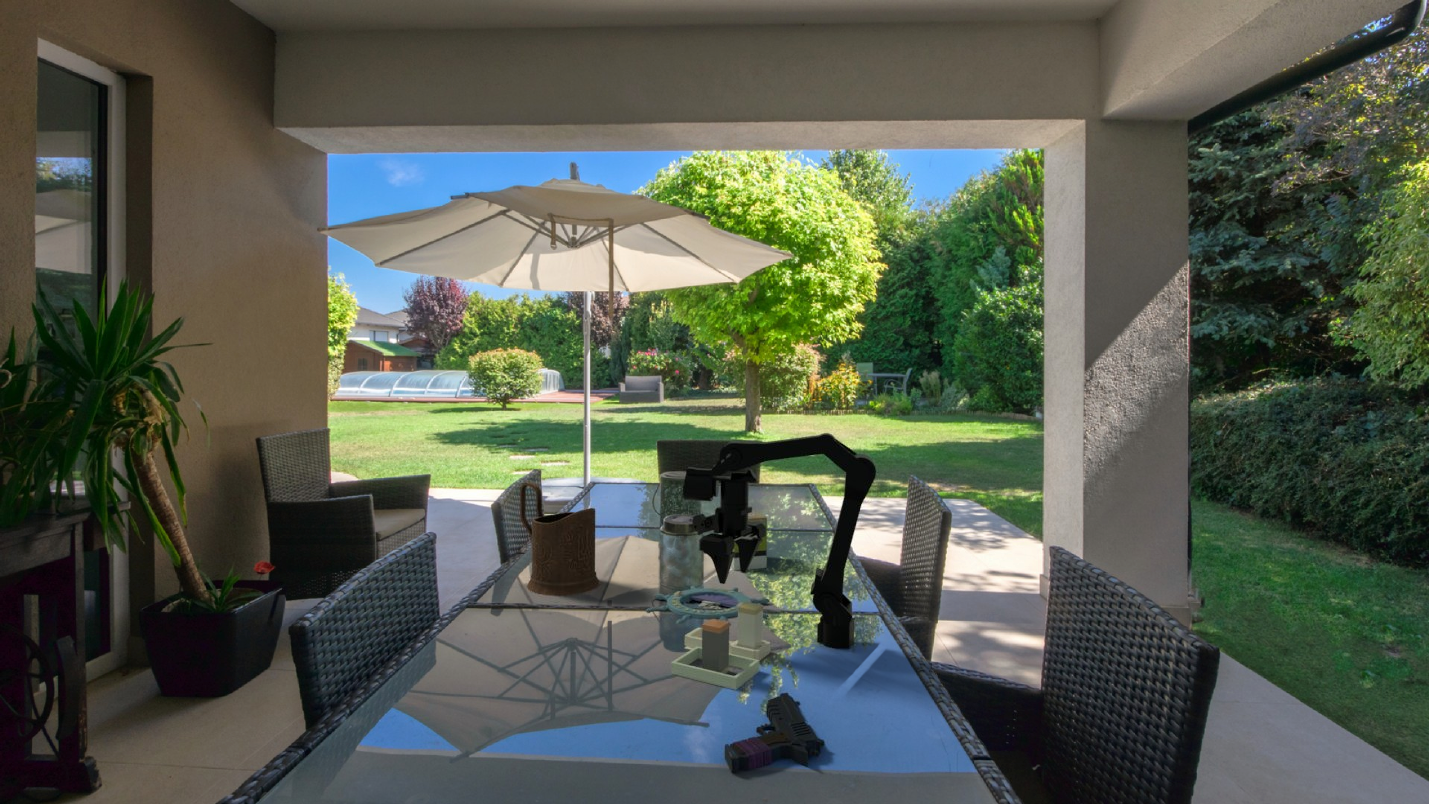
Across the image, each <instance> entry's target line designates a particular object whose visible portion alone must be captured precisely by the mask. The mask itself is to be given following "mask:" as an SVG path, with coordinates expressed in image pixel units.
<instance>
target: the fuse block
mask: <svg viewBox="0 0 1429 804" xmlns="http://www.w3.org/2000/svg"><path fill="white" fill-rule="evenodd" d="M737 644H738V639H736V640H735V641H733V640H732V641H731V640H729V654H734V655H738V656H743V657H747V658H752V659H756V660H759V662H760V661H762V660H763V659H764V658H765V657H767V656H768V655H769V654H771V645H772V644H771V642H770V641H768V640H764V639H763V645H762V646H760V647H759V648H758V649H756V650H754V649H749V648H744V647H740V646H737ZM684 646H685V647H684V649H686V650H689V651H690V650H692V649H693V648H695V647H697V646H698V647H702V627H697V628H695V629H693V630H691V631H690V632H688V633H686V634H685V635H684Z"/></svg>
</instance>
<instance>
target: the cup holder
mask: <svg viewBox="0 0 1429 804" xmlns="http://www.w3.org/2000/svg"><path fill="white" fill-rule="evenodd" d="M527 487H530V488H532V489H533V491H534V492H535V495H536V496H535V497H536V498H535V501H536V502H535V507H536V508H535V512H536V516H537V517H535V518H533V519H531V525H530V523H529V521H528V520H527V517H526V515H527V514H526V512H527V511H526V505H527V503H526V501H527V500H526V499H527V498H526V497H527V496H526V495H527V493H526V491H527ZM542 499H543V495H542V490H541V488H540V487H539V485H537V484H536V483H534V482H526V483H523V484H522V485H521V486H520V490H519V509H520V510H519V512H520V513H519V518H520V521H521V524H522V525H523V527H524V529H525V530H526V532H527V534H528V535H529V536H530V538H531V575H530V580H529V581H528V583H527V585H526V589H527V588H528V589H527V590H528V591H529V590H530V591H529V592H531V591H532V592H531V593H533V592H534V594H537V595H541V594H542V595H544V596H554V597H557V596H558V597H559V596H561V597H565V596H575V595H581V594H585V593H590V592H592V591H595V590H597V589H599V588H600V586H601V582H600V580H599V579H598V576H597V572H596V508H594V507H590V508H585V509H581V510H577V511H567V512H565V511H564V512H559V513H554V514H553V513H552V514H549V515H548V514H547V515H544V514H543V503H542V502H543V501H542Z"/></svg>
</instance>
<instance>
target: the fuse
mask: <svg viewBox="0 0 1429 804" xmlns="http://www.w3.org/2000/svg"><path fill="white" fill-rule="evenodd" d="M763 612H764V604H759V603H758V604H755V603H750V602H746V603H744V604H742V605H741V606H739V607H738V616H737V640H738V644H737V646H740V647H744V648H749V649H754V650H756V649H758V648H759V647H760V646H762V645H763V640H764V638H763V635H764V634H763V633H764V618H763Z"/></svg>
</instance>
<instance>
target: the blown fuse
mask: <svg viewBox="0 0 1429 804" xmlns="http://www.w3.org/2000/svg"><path fill="white" fill-rule="evenodd" d="M729 622H730V621H728V622H726V621H721V620H720V619H709V620H708V621H706V622H704V623H702V626H701V628H702V659H701V668H702V669H707V670H711V671H715V672H719V673H723V674H727V673H728V672H729V671H730V670H729V669H730V668H729V667H730V666H729V641H730V626H729Z"/></svg>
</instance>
